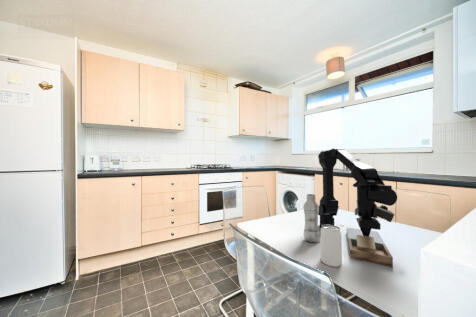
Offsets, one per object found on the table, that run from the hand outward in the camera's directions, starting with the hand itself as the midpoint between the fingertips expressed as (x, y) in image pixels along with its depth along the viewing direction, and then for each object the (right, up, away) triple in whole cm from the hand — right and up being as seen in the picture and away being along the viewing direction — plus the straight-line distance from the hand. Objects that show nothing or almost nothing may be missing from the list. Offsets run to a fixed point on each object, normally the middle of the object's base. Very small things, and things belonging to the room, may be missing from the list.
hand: (366, 239), depth 73 cm
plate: (+4, -4, +7) cm, 9 cm away
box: (-2, -4, -4) cm, 6 cm away
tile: (-2, -2, -2) cm, 3 cm away
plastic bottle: (-18, -4, +8) cm, 21 cm away
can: (-18, -4, -9) cm, 21 cm away
